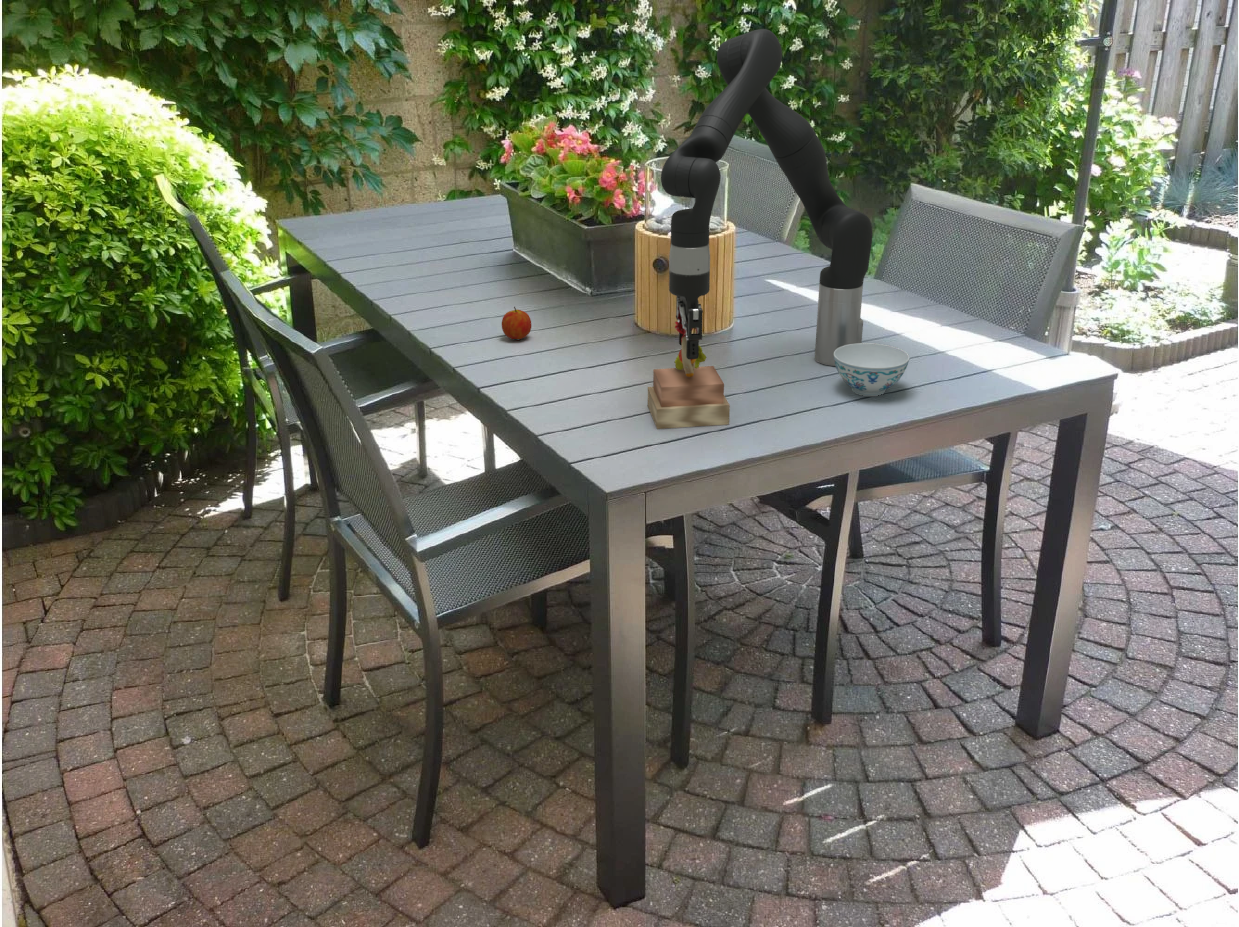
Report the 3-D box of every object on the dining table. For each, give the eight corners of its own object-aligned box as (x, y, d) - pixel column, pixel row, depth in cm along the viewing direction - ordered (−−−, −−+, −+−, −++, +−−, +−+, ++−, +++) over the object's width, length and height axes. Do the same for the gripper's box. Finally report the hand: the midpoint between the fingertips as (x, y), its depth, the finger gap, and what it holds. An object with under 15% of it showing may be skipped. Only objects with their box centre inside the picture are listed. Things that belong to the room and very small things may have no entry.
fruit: (520, 332, 266) (519, 300, 262) (537, 339, 261) (536, 306, 257) (496, 338, 262) (494, 305, 258) (513, 345, 257) (511, 312, 253)
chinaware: (879, 373, 237) (882, 339, 234) (920, 397, 224) (924, 361, 221) (817, 383, 232) (819, 348, 229) (856, 408, 220) (859, 371, 216)
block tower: (716, 401, 224) (717, 363, 220) (729, 424, 213) (730, 385, 210) (647, 405, 222) (647, 367, 219) (657, 428, 212) (657, 389, 208)
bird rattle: (706, 386, 213) (706, 354, 219) (706, 343, 205) (706, 311, 211) (673, 386, 214) (674, 354, 220) (672, 343, 206) (673, 311, 212)
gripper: (717, 277, 199) (715, 363, 206) (702, 257, 212) (700, 338, 219) (676, 279, 199) (675, 365, 205) (663, 258, 211) (663, 340, 218)
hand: (688, 351), depth 212 cm, fingers closed on bird rattle, 7 cm apart
